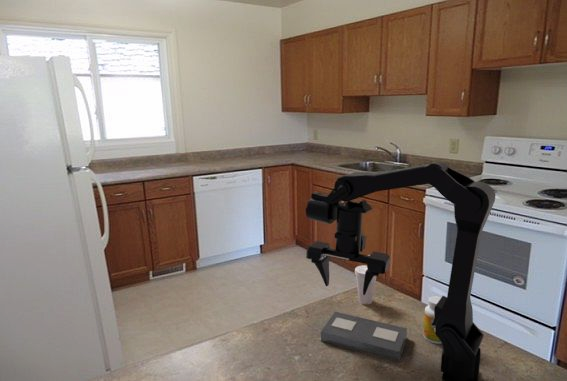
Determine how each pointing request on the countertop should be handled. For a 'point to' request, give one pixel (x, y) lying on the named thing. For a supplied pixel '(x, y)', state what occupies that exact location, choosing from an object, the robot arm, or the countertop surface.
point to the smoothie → (360, 283)
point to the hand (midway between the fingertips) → (345, 289)
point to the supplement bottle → (430, 321)
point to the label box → (365, 336)
